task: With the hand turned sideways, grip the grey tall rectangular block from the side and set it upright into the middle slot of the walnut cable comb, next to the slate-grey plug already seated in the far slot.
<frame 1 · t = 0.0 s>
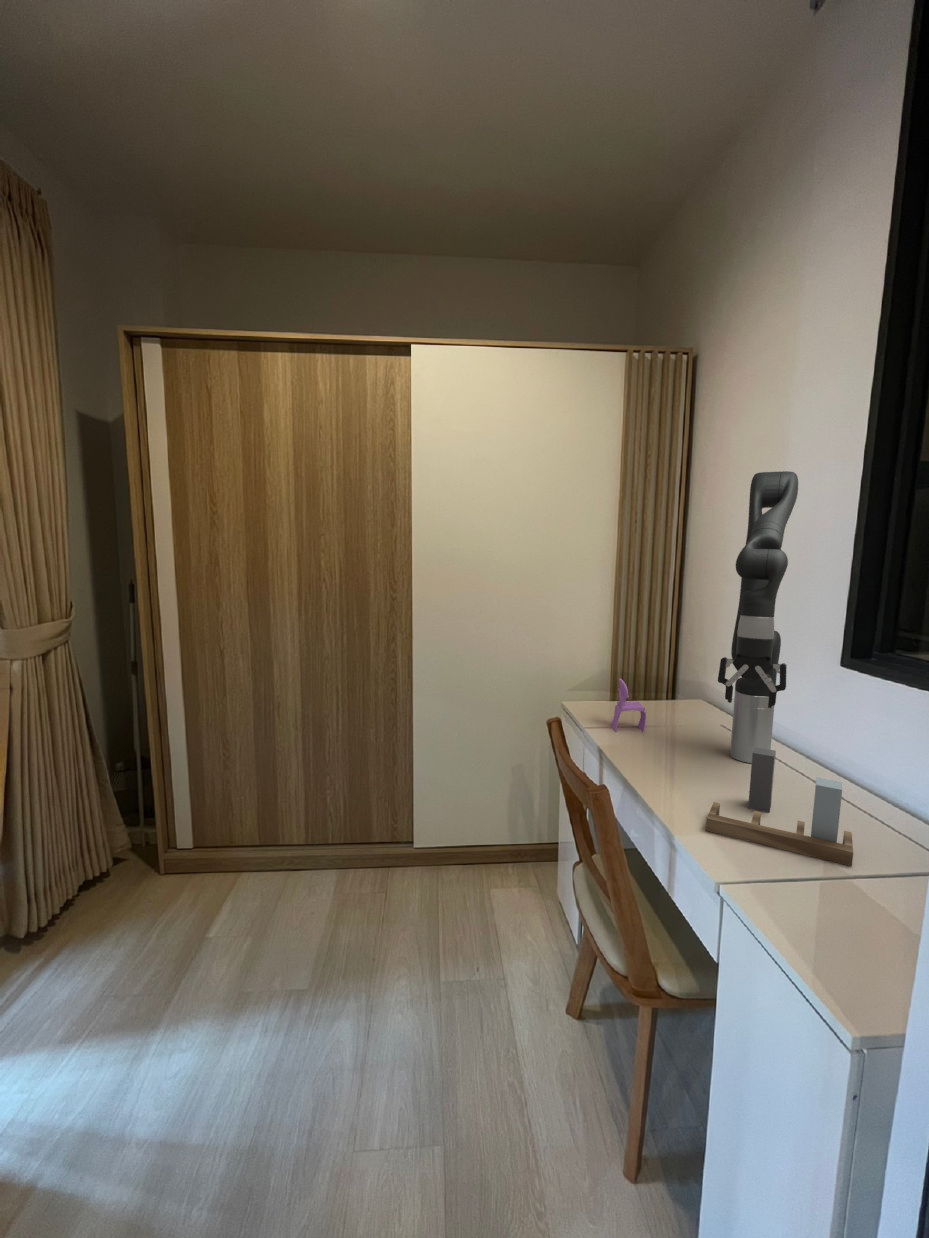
hand: (749, 704, 141), 17 cm above the table, tool pointing down, fingers open, 8 cm apart
cable comb: (776, 838, 113), on the table
toy chair: (627, 729, 176), on the table
grey tall rectangular block: (759, 806, 126), on the table
slate plug: (822, 845, 111), resting in cable comb
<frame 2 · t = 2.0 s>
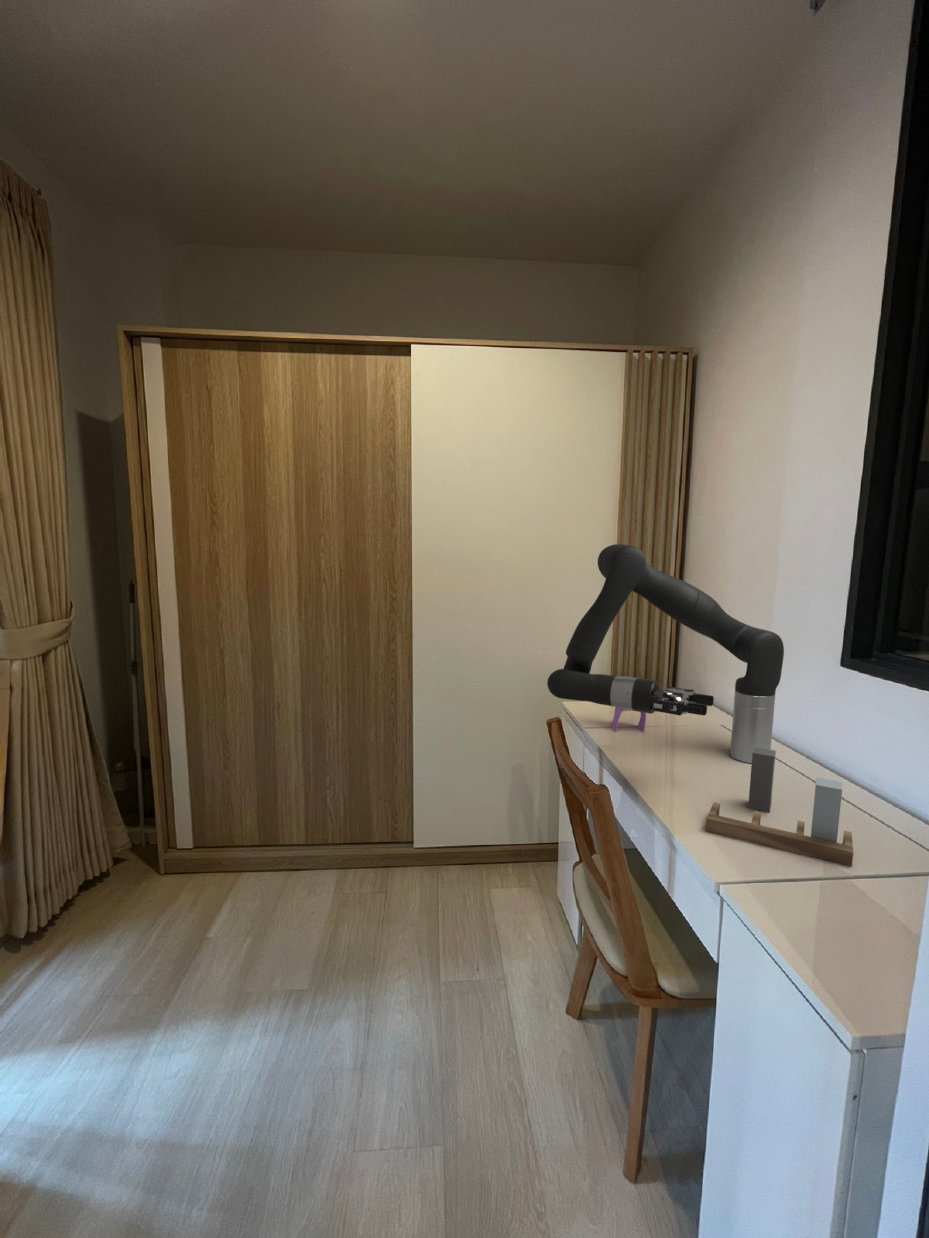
hand: (710, 705, 129), 20 cm above the table, tool horizontal, fingers open, 8 cm apart
nothing on the table moved.
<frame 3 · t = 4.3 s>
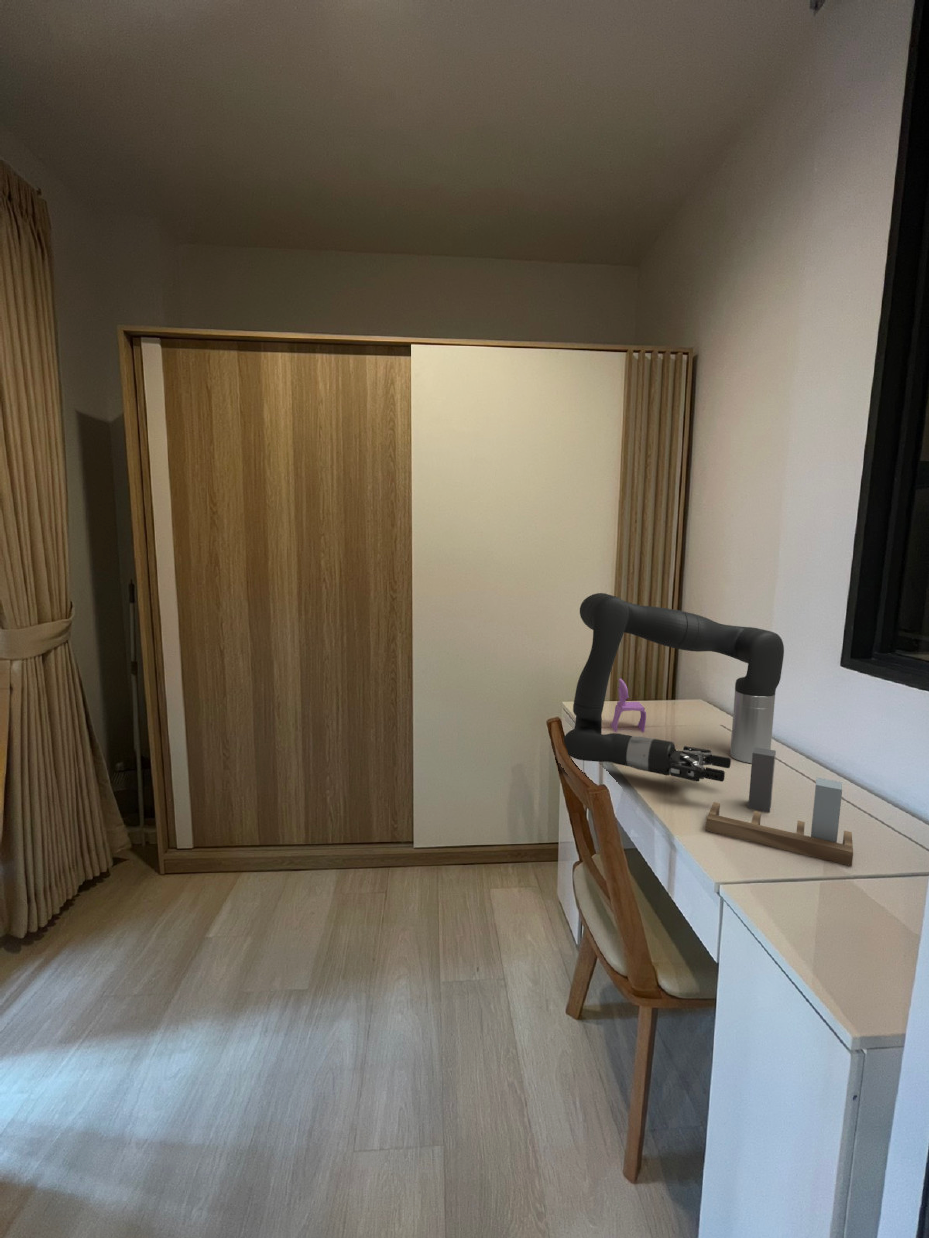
hand: (727, 769, 129), 7 cm above the table, tool horizontal, fingers open, 8 cm apart
nothing on the table moved.
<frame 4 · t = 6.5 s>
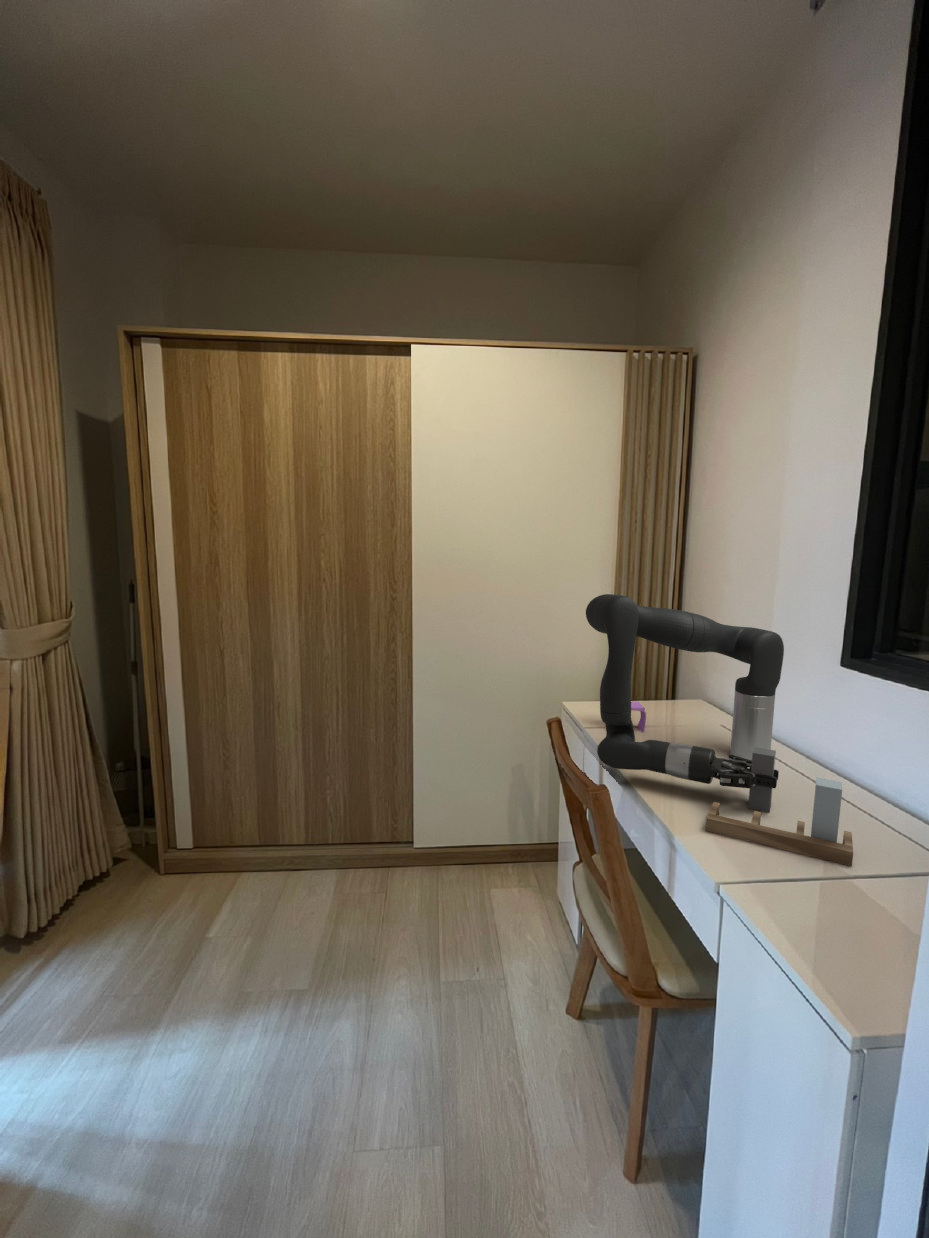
hand: (777, 779, 124), 7 cm above the table, tool horizontal, fingers closed on grey tall rectangular block, 4 cm apart
grey tall rectangular block: (759, 806, 126), on the table, touching gripper
everything else where it was.
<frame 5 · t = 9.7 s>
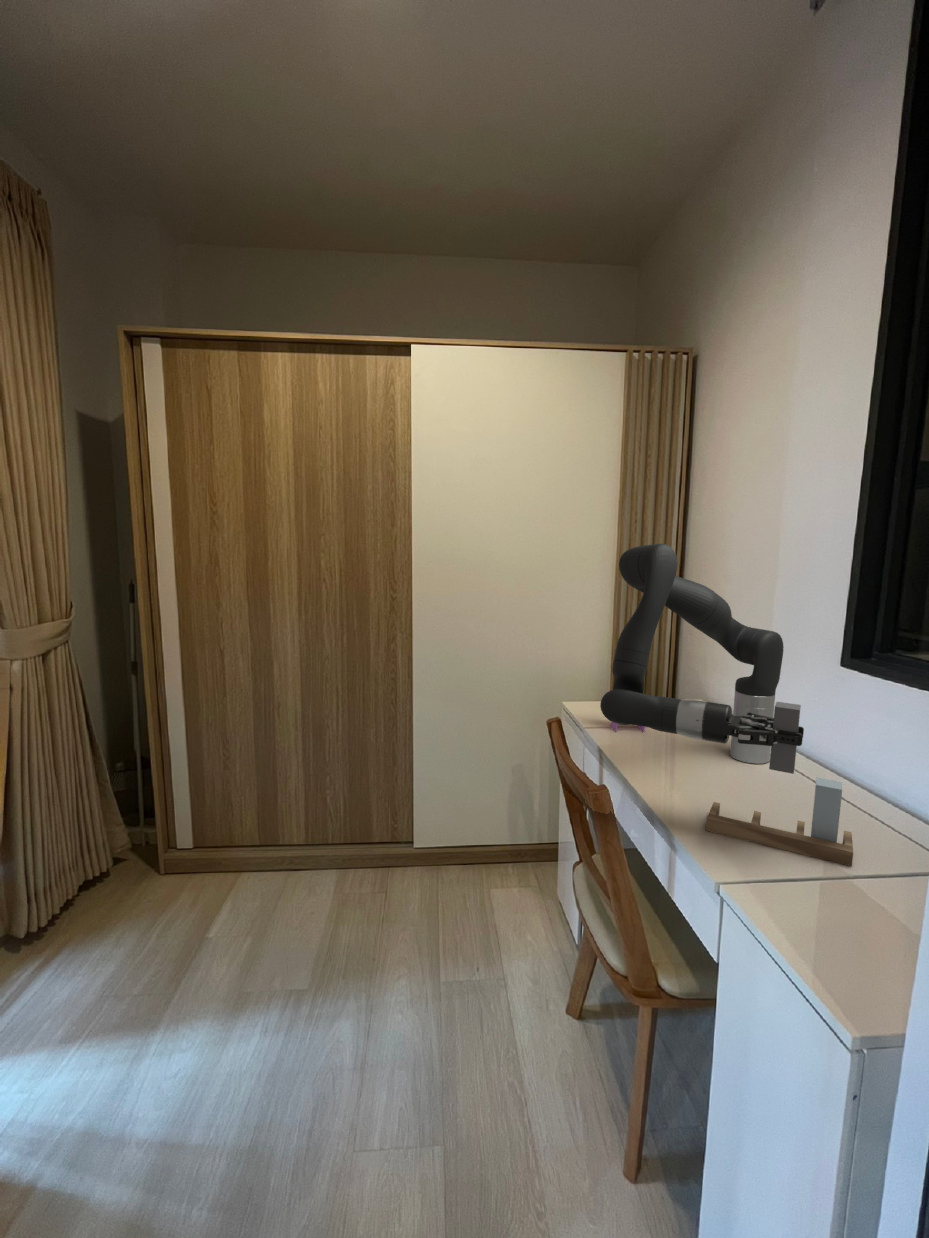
hand: (802, 736, 110), 20 cm above the table, tool horizontal, fingers closed on grey tall rectangular block, 4 cm apart
grey tall rectangular block: (782, 767, 113), point 13 cm above the table, touching gripper
everything else where it was.
when the fingers open (8 cm above the table, at t = 12.8 s): grey tall rectangular block drops 1 cm, resting in cable comb.
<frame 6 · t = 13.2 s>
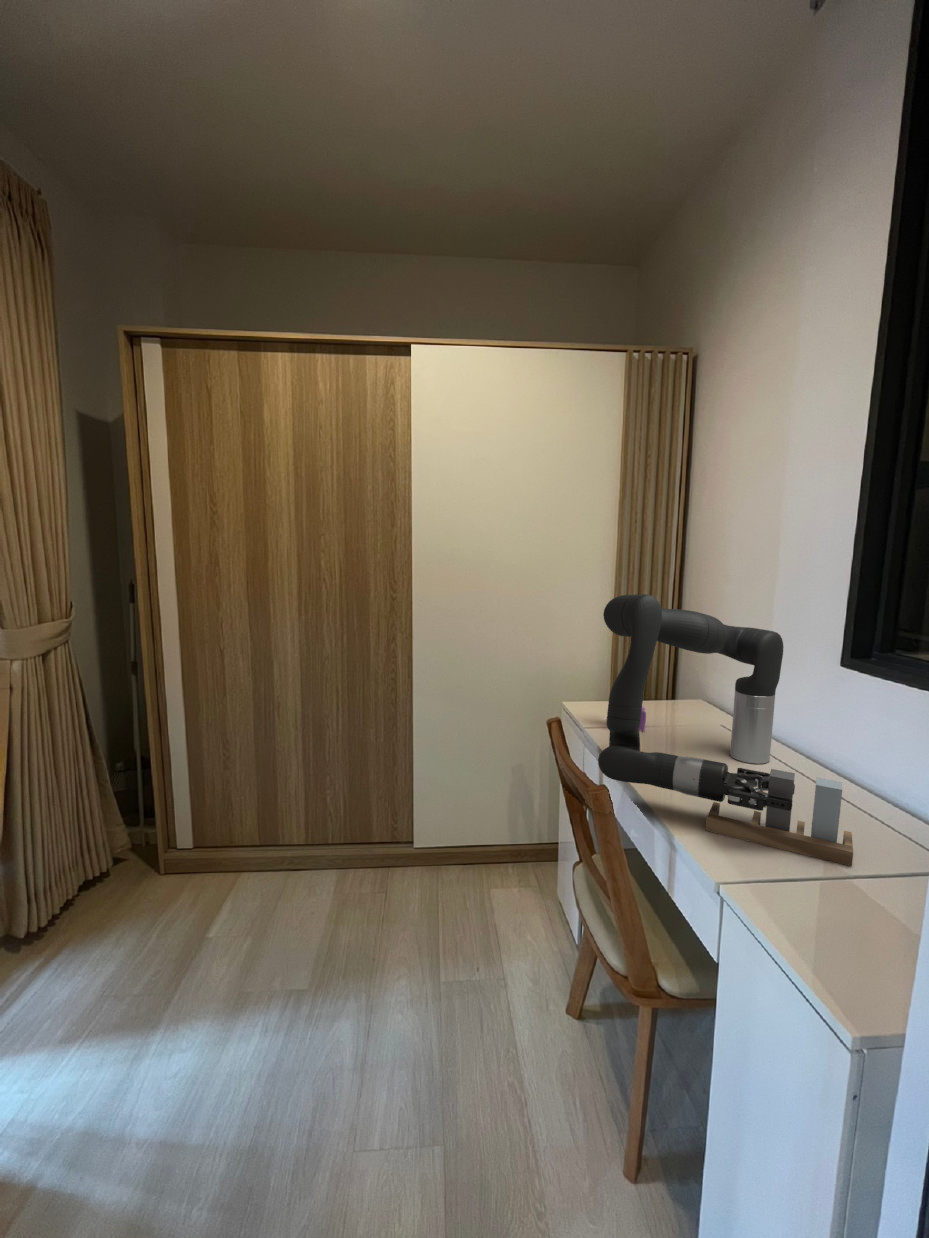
hand: (793, 796, 112), 8 cm above the table, tool horizontal, fingers open, 7 cm apart
grey tall rectangular block: (776, 834, 114), resting in cable comb
everything else where it was.
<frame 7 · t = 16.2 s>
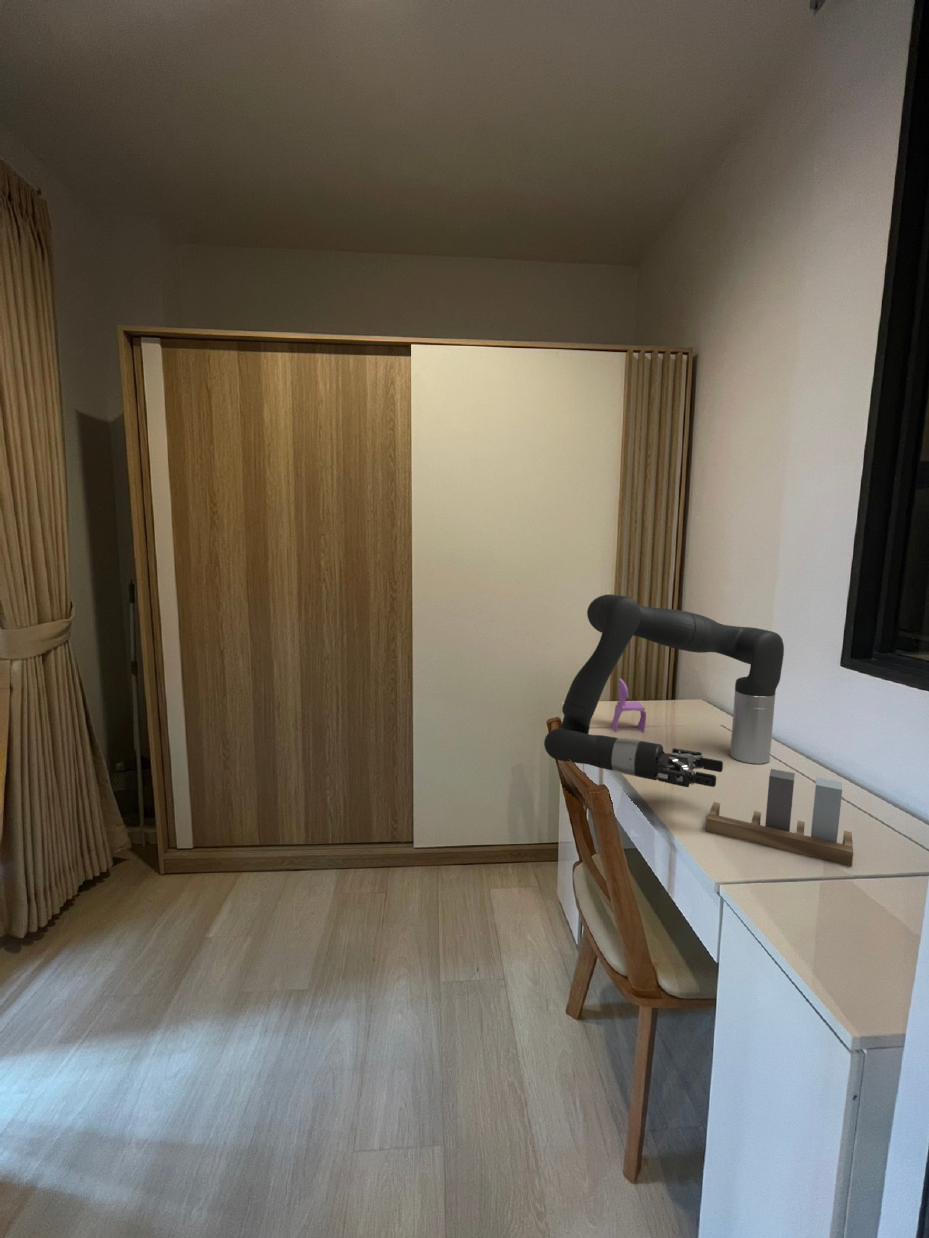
hand: (719, 773, 120), 9 cm above the table, tool horizontal, fingers open, 8 cm apart
nothing on the table moved.
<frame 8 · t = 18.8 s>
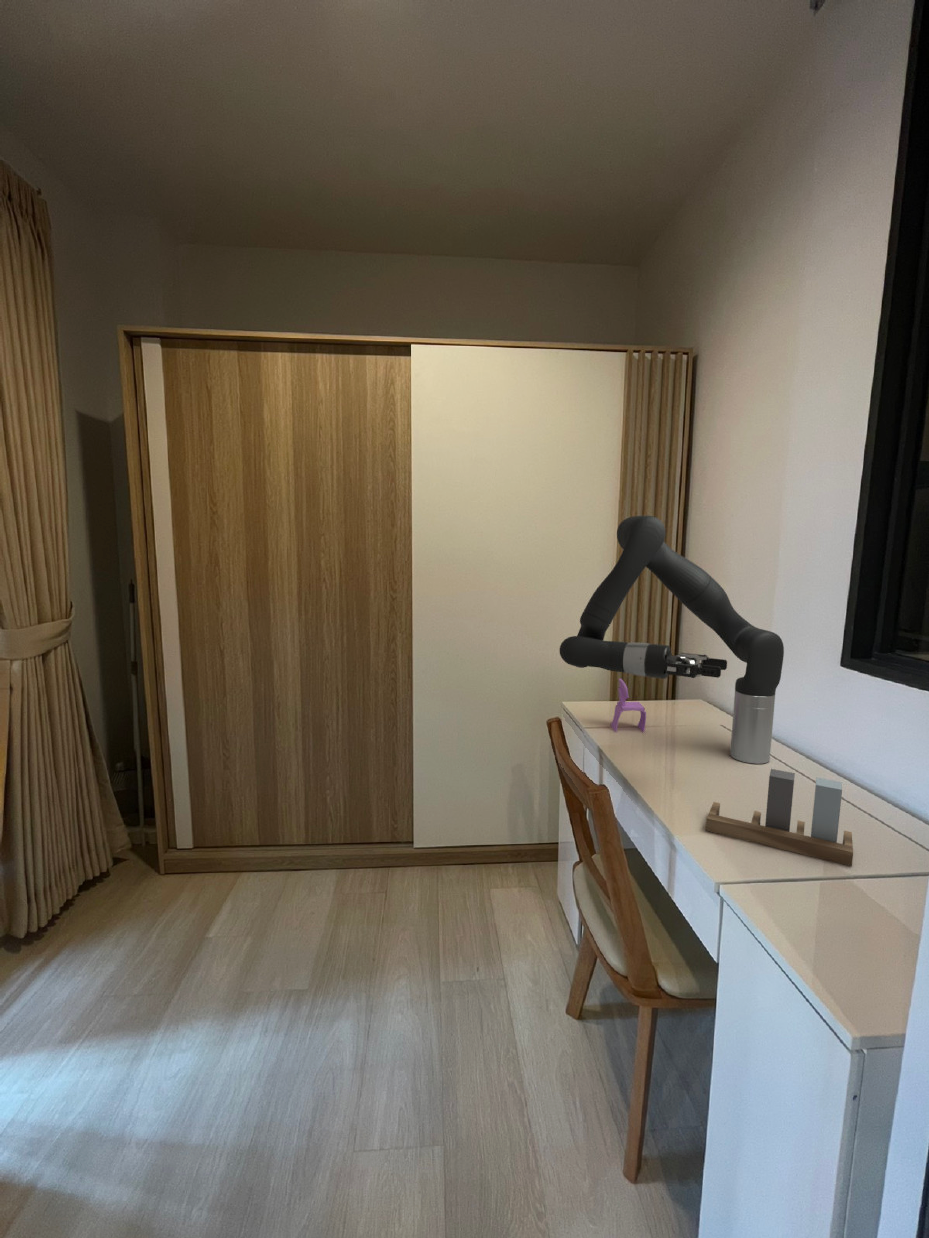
hand: (723, 668, 129), 28 cm above the table, tool horizontal, fingers open, 8 cm apart
nothing on the table moved.
at the end: grey tall rectangular block 0.1 cm from the target spot on the cable comb, point 0.0 cm above the cable comb's base; grey tall rectangular block tilted 0°; the gripper is holding nothing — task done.
